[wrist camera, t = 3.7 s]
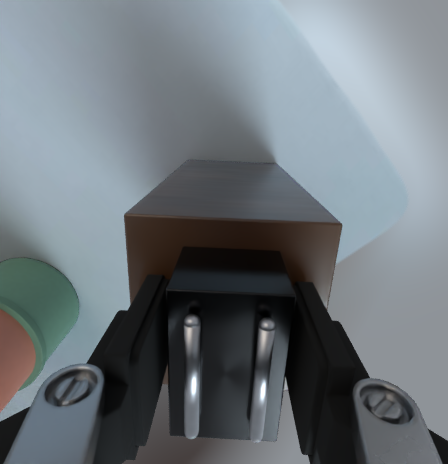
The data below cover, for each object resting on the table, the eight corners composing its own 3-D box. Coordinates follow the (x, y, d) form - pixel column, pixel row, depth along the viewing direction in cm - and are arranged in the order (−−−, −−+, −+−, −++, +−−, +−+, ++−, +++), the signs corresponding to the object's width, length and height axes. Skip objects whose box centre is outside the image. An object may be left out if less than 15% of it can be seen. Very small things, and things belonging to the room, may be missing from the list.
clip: (280, 250, 10) (301, 307, 7) (266, 370, 12) (279, 459, 9) (182, 245, 10) (160, 300, 7) (183, 366, 12) (165, 453, 9)
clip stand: (277, 163, 24) (343, 224, 10) (269, 246, 26) (313, 392, 12) (187, 159, 24) (122, 213, 10) (187, 243, 26) (135, 383, 12)
